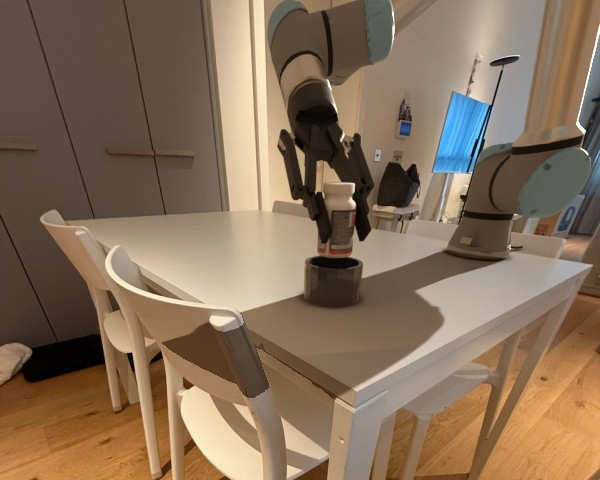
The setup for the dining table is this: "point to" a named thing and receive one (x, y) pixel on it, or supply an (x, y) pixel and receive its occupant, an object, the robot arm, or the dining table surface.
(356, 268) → the cylindrical container
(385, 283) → the dining table surface
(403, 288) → the dining table surface
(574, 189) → the robot arm
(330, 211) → the pill bottle
